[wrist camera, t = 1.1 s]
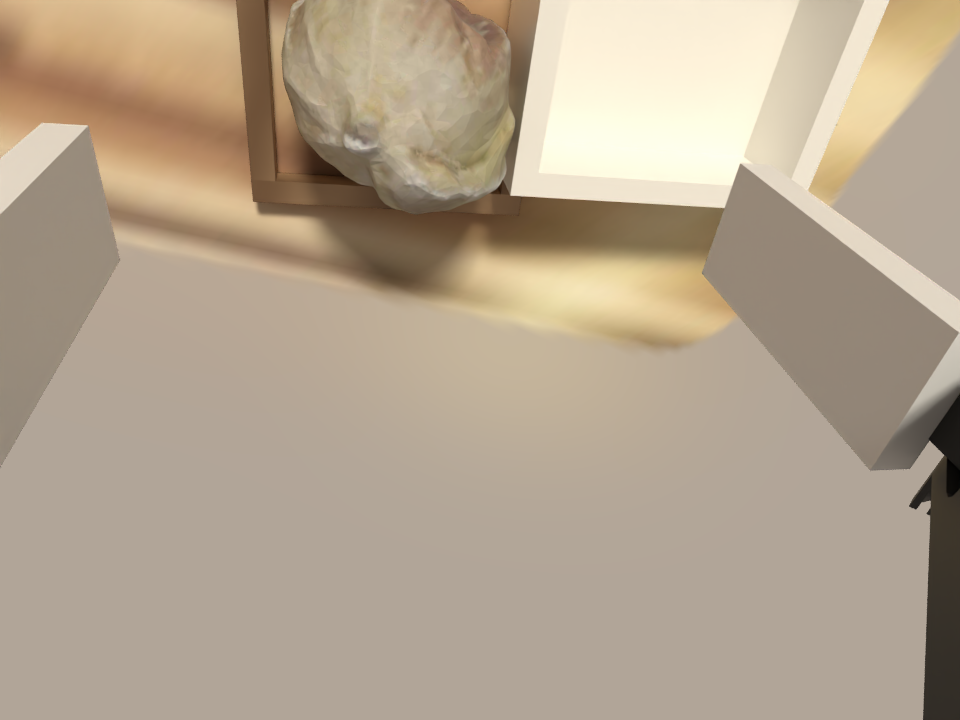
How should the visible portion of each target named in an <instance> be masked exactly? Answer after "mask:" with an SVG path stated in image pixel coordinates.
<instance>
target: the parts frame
mask: <svg viewBox="0 0 960 720" xmlns="http://www.w3.org/2000/svg"><path fill="white" fill-rule="evenodd" d="M236 5H237V17H238V28H239V40H240V52H241V64H242V76H243V88H244V100H245V111H246V123H247V135H248V147H249V159H250V171H251V183H252V194H253V202H268V203H287V204H306V205H325V206H344V207H364V208H383V209H393V208H391V207H390V206H388V205H386V204H385V203H384V202H383V201H382V200H381V199H380V198H379V196H378V194H377V192H376V190H375V189H374V187H371V186H365V185H361V184H359V183H357V182H355V181H353V180H351V179H350V178H348V177H341V176H325V175H308V174H292V173H278V170H277V153H276V137H275V120H274V103H273V86H272V70H271V53H270V36H269V19H268V3H267V0H236ZM521 198H522V196H510V194H509V191H508V189H507V187H506V185H505V183H504V181H503V180H502V182H501V183H500V185H499V187H498V188H497V189H496V190H494V191H492V192H491V193H489V194H487V195H485V196H484V197H482V198H480V199H479V200H476V201H473V202H469V203H466V204H463V205H460V206H458V207H456V208H453V209H451V210H446V211H440V212H459V213H478V214H497V215H517V216H519V210H520V204H521Z"/></svg>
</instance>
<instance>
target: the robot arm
mask: <svg viewBox="0 0 960 720" xmlns="http://www.w3.org/2000/svg"><path fill="white" fill-rule="evenodd" d="M119 261H120V258H119V254H118V249H117V245H116V241H115V237H114V232H113V228H112V224H111V220H110V215H109V211H108V207H107V203H106V198H105V194H104V190H103V186H102V181H101V177H100V173H99V169H98V164H97V160H96V156H95V152H94V147H93V143H92V139H91V135H90V130H89V126H87V125H69V124H52V123H41V124H40V125H39V126H38V127H37V128H35V129H34V130H33V131H32V132H31V133H29V134H28V135H27V136H26V137H25V138H24V139H22V140H21V141H20V142H19V143H18V144H16V145H15V146H14V147H13V148H12V149H11V150H9V151H8V152H7V153H6V154H5V155H4V156H2V157H1V158H0V467H1V465H2V464H3V462H4V460H5V458H6V457H7V455H8V453H9V452H10V450H11V448H12V446H13V445H14V443H15V441H16V439H17V438H18V436H19V434H20V432H21V431H22V429H23V427H24V425H25V424H26V422H27V420H28V419H29V417H30V415H31V413H32V412H33V410H34V408H35V407H36V405H37V403H38V401H39V399H40V398H41V396H42V394H43V392H44V391H45V389H46V387H47V386H48V384H49V382H50V381H51V379H52V377H53V375H54V373H55V372H56V370H57V368H58V367H59V365H60V363H61V362H62V360H63V358H64V356H65V354H66V353H67V351H68V349H69V348H70V346H71V344H72V342H73V341H74V339H75V337H76V336H77V334H78V332H79V330H80V328H81V327H82V325H83V323H84V322H85V320H86V318H87V317H88V315H89V313H90V311H91V310H92V308H93V306H94V304H95V302H96V301H97V299H98V298H99V296H100V294H101V292H102V291H103V289H104V287H105V285H106V284H107V282H108V280H109V278H110V277H111V275H112V273H113V272H114V270H115V268H116V266H117V265H118V263H119ZM702 274H703V275H704V276H705V277H706V279H707V280H708V281H709V282H710V283H711V285H712V286H713V287H714V288H715V289H716V290H717V292H718V293H719V294H720V295H721V296H722V297H723V299H724V300H725V301H726V302H727V303H728V304H729V306H730V307H731V308H732V309H733V310H734V311H735V313H736V314H737V315H738V316H739V317H740V319H741V320H742V321H743V322H744V323H745V324H746V326H747V327H748V328H749V329H750V330H751V331H752V333H753V334H754V335H755V336H756V337H757V338H758V340H759V341H760V342H761V343H762V344H763V345H764V347H765V348H766V349H767V350H768V351H769V353H770V354H771V355H772V356H773V357H774V358H775V360H776V361H777V362H778V363H779V364H780V365H781V367H782V368H783V369H784V370H785V371H786V372H787V374H788V375H789V376H790V377H791V378H792V379H793V380H794V382H795V383H796V384H797V385H798V387H799V388H800V389H801V390H802V391H803V392H804V393H805V395H806V396H807V397H808V398H809V399H810V401H811V402H812V403H813V404H814V405H815V406H816V408H817V409H818V410H819V411H820V412H821V413H822V415H823V416H824V417H825V418H826V419H827V420H828V422H829V423H830V424H831V425H832V426H833V427H834V429H835V430H836V431H837V432H838V433H839V435H840V436H841V437H842V438H843V439H844V440H845V442H846V443H847V444H848V445H849V446H850V447H851V449H852V450H853V451H854V452H855V453H856V454H857V456H858V457H859V458H860V459H861V460H862V461H863V463H864V464H865V465H866V466H867V467H868V469H869V470H892V469H893V470H894V469H910V468H911V467H912V465H913V464H914V462H915V461H916V459H917V458H918V456H919V455H920V453H921V452H922V451H923V449H924V448H925V446H926V445H927V443H928V442H929V441H931V442H932V443H933V444H934V445H935V446H936V447H937V448H938V449H939V450H940V451H941V452H942V453H943V454H944V457H943V458H942V459H941V461H940V462H939V463H938V465H937V466H936V468H935V469H934V470H933V472H932V473H931V475H930V476H929V477H928V479H927V480H926V481H925V483H924V484H923V486H922V487H921V488H920V490H919V491H918V493H917V494H916V495H915V497H914V498H913V499H912V501H911V503H910V505H909V507H912V508H914V509H917V508H918V506H919V505H920V504H921V502H926V501H929V500H930V501H931V508H930V509H929V511H928V512H927V514H928V515H930V543H929V572H928V599H927V627H926V655H925V683H924V710H923V711H924V712H923V720H960V301H959V300H958V299H957V298H955V297H954V296H953V295H951V294H950V293H948V292H947V291H946V290H944V289H943V288H941V287H940V286H939V285H937V284H936V283H935V282H933V281H932V280H930V279H929V278H928V277H926V276H925V275H923V274H922V273H921V272H919V271H918V270H917V269H915V268H914V267H912V266H911V265H910V264H908V263H907V262H905V261H904V260H903V259H901V258H900V257H898V256H897V255H896V254H894V253H893V252H891V251H890V250H889V249H887V248H886V247H885V246H883V245H882V244H880V243H879V242H877V241H876V240H875V239H874V238H872V237H871V236H869V235H868V234H867V233H865V232H864V231H862V230H861V229H860V228H858V227H857V226H855V225H854V224H853V223H851V222H850V221H849V220H847V219H846V218H844V217H843V216H841V215H840V214H839V213H837V212H836V211H835V210H833V209H832V208H831V207H829V206H828V205H826V204H825V203H824V202H822V201H821V200H819V199H818V198H817V197H815V196H814V195H813V194H811V193H810V192H808V191H807V190H806V189H804V188H803V187H801V186H800V185H799V184H797V183H796V182H794V181H793V180H792V179H790V178H789V177H788V176H786V175H785V174H783V173H782V172H781V171H779V170H778V169H776V168H775V167H774V166H772V165H765V164H748V163H740V165H739V168H738V171H737V174H736V177H735V179H734V182H733V185H732V188H731V191H730V194H729V197H728V200H727V202H726V205H725V208H724V211H723V214H722V217H721V220H720V223H719V225H718V228H717V231H716V234H715V237H714V240H713V243H712V246H711V248H710V251H709V254H708V257H707V260H706V263H705V266H704V269H703V271H702Z"/></svg>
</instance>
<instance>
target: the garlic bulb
mask: <svg viewBox="0 0 960 720" xmlns="http://www.w3.org/2000/svg"><path fill="white" fill-rule="evenodd" d="M510 65H511V48H510V41H509V39H508V38H507V35H506V33H505V31H504V30H503V29H502V28H501V27H499V26H497V25H496V24H495V23H494V22H493V21H492V20H490V19H487V18H485V17H483V16H480V15H476V14H471V13H470V12H469V10H468V9H467V8H466V7H465V6H464V5H463V4H462V3H460V2H459V1H457V0H298V1H297V2H295V3H293V5H292V7H291V10H290V14H289V18H288V21H287V24H286V31H285V36H284V41H283V47H282V70H283V80H284V85H285V89H286V91H287V94H288V97H289V99H290V102H291V105H292V108H293V112H294V116H295V120H296V123H297V126H298V129H299V131H300V134H301V135H302V137H303V138H304V140H305V141H306V142H307V143H308V144H309V145H310V146H311V147H312V148H313V149H314V150H315V151H316V153H317V154H318V155H319V156H320V157H321V158H322V159H324V160H325V161H327V162H328V163H330V164H331V165H333V166H334V167H335V168H337V169H338V170H339V171H340V172H341V173H342V174H343V175H345V176H346V177H348V178H350V179H351V180H353V181H355V182H357V183H359V184H361V185H365V186H371V187H374V189H375V190H376V192H377V194H378V196H379V198H380V199H381V200H382V201H383V202H384V203H385V204H386V205H388V206H390V207H391V208H393V209H398V210H402V211H406V212H408V213H411V214H422V213H429V212H437V211H446V210H451V209H453V208H456V207H458V206H460V205H463V204H466V203H469V202H473V201H476V200H479V199H480V198H482V197H484V196H485V195H487V194H489V193H491V192H492V191H494V190H496V189H497V188H498V187H499V185H500V183H501V182H502V180H503V178H504V176H505V174H506V169H507V168H506V159H505V154H506V152H507V149H508V146H509V144H510V141H511V139H512V136H513V132H514V129H515V118H514V116H513V113H512V111H511V109H510V106H509V104H508V91H509V76H510Z"/></svg>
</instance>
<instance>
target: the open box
mask: <svg viewBox="0 0 960 720" xmlns="http://www.w3.org/2000/svg"><path fill="white" fill-rule="evenodd" d="M888 3H889V0H511V7H510V15H509V22H508V30H507V38H508V39H509V41H510V48H511V65H510V76H509V91H508V104H509V106H510V109H511V111H512V113H513V116H514V118H515V129H514V132H513V136H512V139H511V141H510V144H509V146H508V149H507V152H506V154H505V159H506V168H507V169H506V174H505V176H504V178H503V181H504V183H505V185H506V187H507V189H508V191H509V194H510V196H527V197H544V198H561V199H578V200H596V201H613V202H630V203H647V204H664V205H682V206H699V207H716V208H725V205H726V202H727V200H728V197H729V194H730V191H731V188H732V185H733V182H734V179H735V177H736V174H737V171H738V168H739V165H740V163H748V164H765V165H772V166H774V167H775V168H776V169H778V170H779V171H781V172H782V173H783V174H785V175H786V176H788V177H789V178H790V179H792V180H793V181H794V182H796V183H797V184H799V185H800V186H801V187H803V188H804V189H806V190H807V191H808V189H809V187H810V184H811V182H812V180H813V177H814V175H815V173H816V170H817V168H818V166H819V163H820V161H821V159H822V156H823V154H824V152H825V149H826V147H827V145H828V142H829V140H830V138H831V135H832V133H833V131H834V128H835V126H836V124H837V121H838V119H839V117H840V114H841V112H842V110H843V108H844V105H845V103H846V101H847V98H848V96H849V94H850V91H851V89H852V87H853V84H854V82H855V80H856V77H857V75H858V73H859V70H860V68H861V66H862V63H863V61H864V59H865V56H866V54H867V52H868V49H869V47H870V45H871V42H872V40H873V38H874V35H875V33H876V31H877V28H878V26H879V24H880V21H881V19H882V17H883V14H884V12H885V10H886V7H887V5H888Z"/></svg>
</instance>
